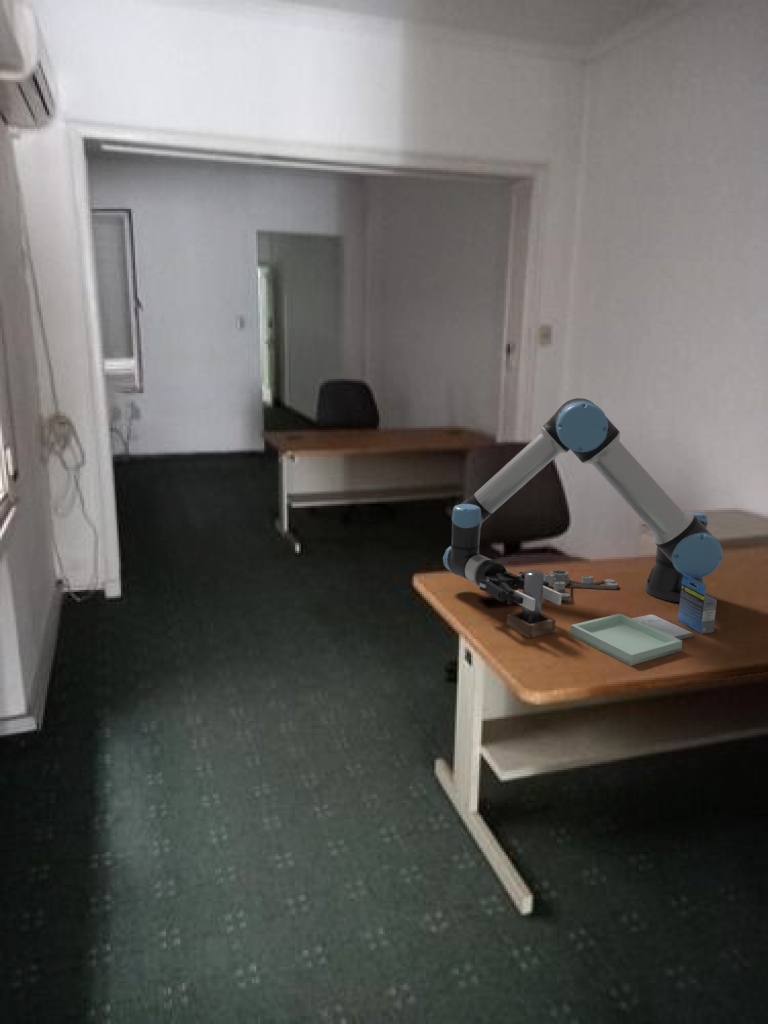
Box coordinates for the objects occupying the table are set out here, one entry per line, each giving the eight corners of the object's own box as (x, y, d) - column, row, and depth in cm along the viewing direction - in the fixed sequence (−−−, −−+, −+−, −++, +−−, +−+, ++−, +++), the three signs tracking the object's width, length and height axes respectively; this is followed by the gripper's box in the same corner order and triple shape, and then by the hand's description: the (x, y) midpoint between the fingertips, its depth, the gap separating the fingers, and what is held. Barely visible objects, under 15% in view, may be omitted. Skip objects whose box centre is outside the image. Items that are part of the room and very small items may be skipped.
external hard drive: (666, 644, 161) (627, 624, 172) (692, 638, 164) (652, 619, 175) (667, 637, 160) (628, 618, 171) (693, 632, 164) (653, 613, 174)
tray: (618, 622, 171) (619, 613, 170) (681, 651, 156) (682, 640, 155) (570, 635, 163) (570, 625, 163) (630, 666, 148) (631, 655, 147)
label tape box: (714, 633, 166) (721, 584, 163) (699, 634, 165) (705, 585, 162) (690, 619, 174) (696, 572, 171) (675, 620, 173) (681, 573, 170)
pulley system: (516, 592, 194) (558, 606, 182) (517, 575, 193) (559, 588, 181) (583, 578, 209) (625, 590, 197) (584, 563, 208) (626, 574, 196)
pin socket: (532, 620, 172) (533, 608, 171) (554, 631, 165) (555, 620, 164) (506, 626, 168) (507, 614, 167) (528, 638, 161) (529, 626, 160)
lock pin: (531, 624, 169) (535, 569, 166) (543, 630, 166) (547, 574, 162) (517, 627, 167) (520, 571, 164) (529, 634, 164) (533, 577, 160)
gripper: (516, 581, 185) (578, 610, 166) (453, 593, 176) (511, 625, 156) (517, 554, 183) (580, 580, 164) (454, 564, 174) (513, 593, 155)
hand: (547, 602), depth 160 cm, fingers open, 7 cm apart
